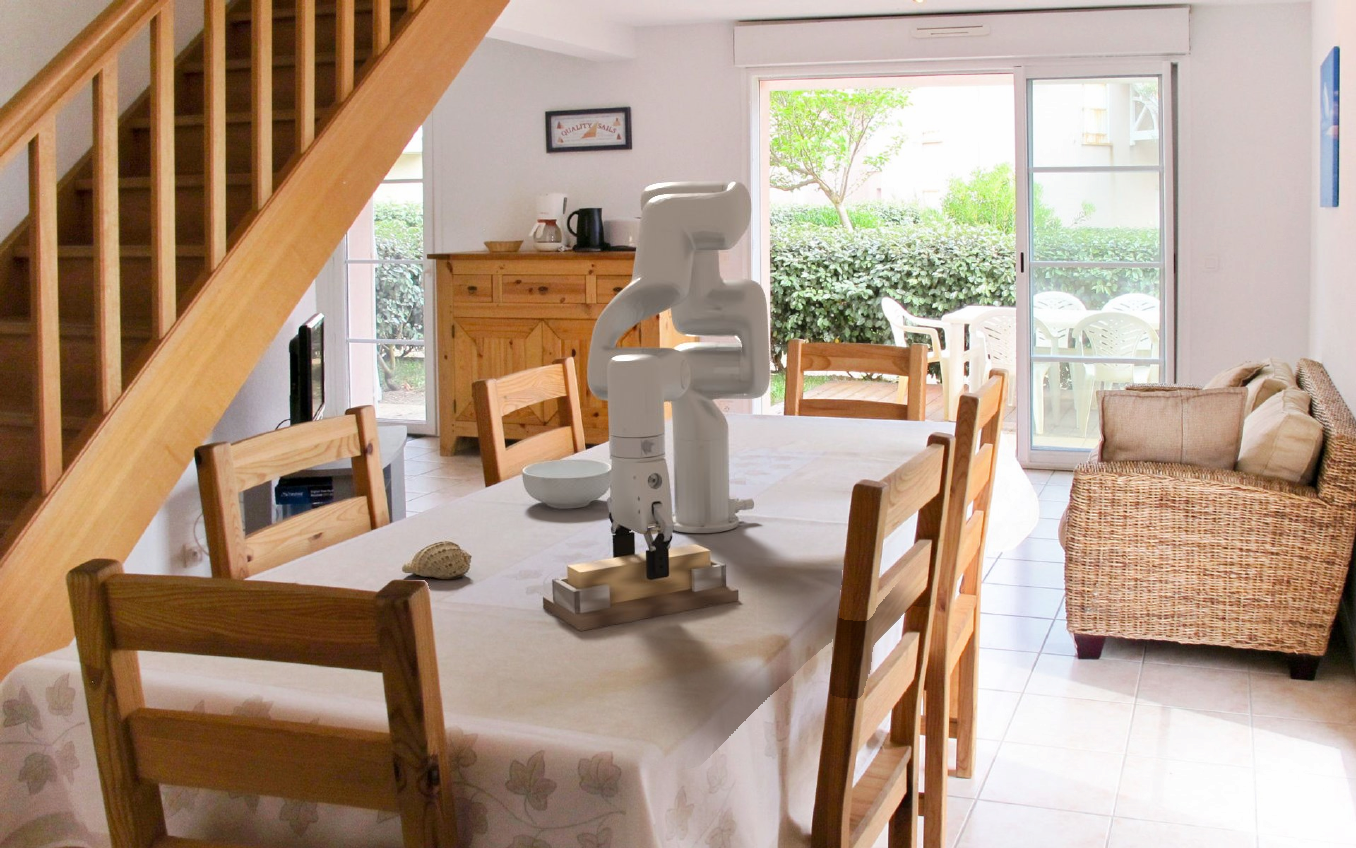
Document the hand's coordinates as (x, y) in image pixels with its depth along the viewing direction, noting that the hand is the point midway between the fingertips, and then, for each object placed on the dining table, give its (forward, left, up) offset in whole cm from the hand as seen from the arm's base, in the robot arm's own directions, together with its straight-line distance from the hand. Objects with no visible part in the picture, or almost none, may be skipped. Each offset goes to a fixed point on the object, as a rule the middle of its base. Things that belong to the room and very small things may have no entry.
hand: (640, 569), depth 171 cm
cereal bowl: (-18, -63, -5) cm, 66 cm away
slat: (0, 0, -3) cm, 3 cm away
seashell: (+19, -29, -5) cm, 35 cm away
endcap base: (0, 0, -5) cm, 5 cm away
